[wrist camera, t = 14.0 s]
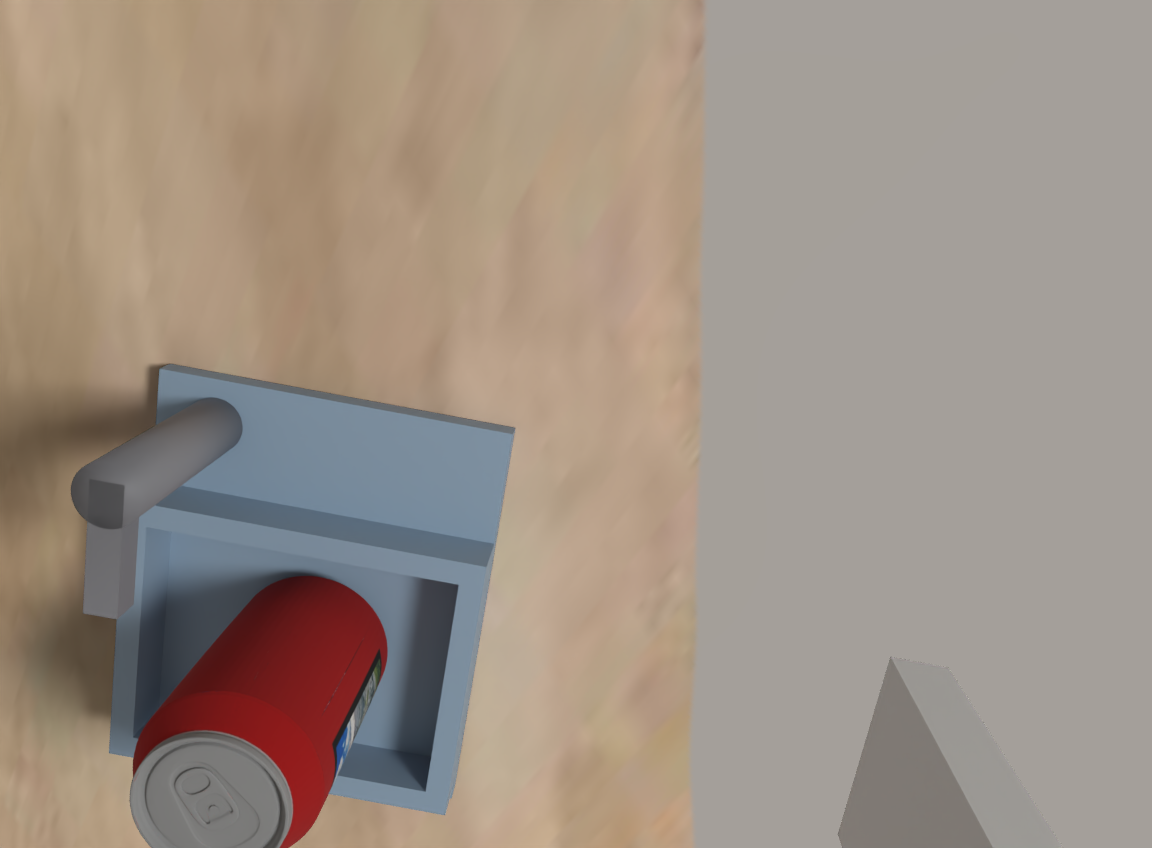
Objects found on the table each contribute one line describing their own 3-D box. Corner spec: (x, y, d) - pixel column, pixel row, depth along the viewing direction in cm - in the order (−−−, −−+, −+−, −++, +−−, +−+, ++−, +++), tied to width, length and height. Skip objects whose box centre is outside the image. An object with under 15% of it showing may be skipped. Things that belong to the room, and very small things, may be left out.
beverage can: (296, 727, 45) (183, 923, 33) (214, 607, 44) (66, 769, 32) (421, 666, 44) (348, 847, 32) (341, 541, 43) (236, 685, 31)
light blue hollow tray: (170, 363, 42) (34, 425, 32) (515, 427, 42) (483, 508, 32) (145, 728, 47) (20, 876, 37) (454, 785, 47) (411, 948, 37)
